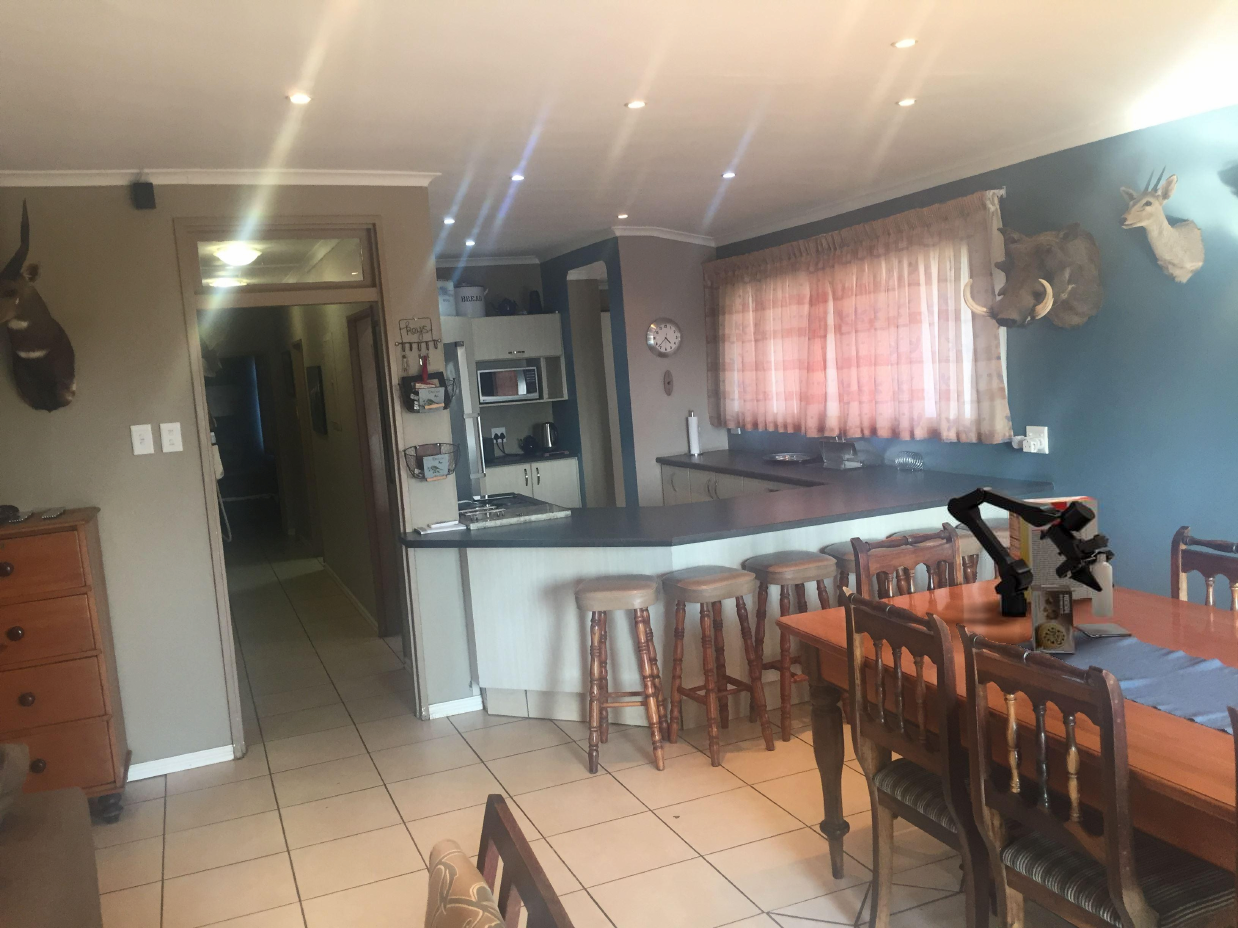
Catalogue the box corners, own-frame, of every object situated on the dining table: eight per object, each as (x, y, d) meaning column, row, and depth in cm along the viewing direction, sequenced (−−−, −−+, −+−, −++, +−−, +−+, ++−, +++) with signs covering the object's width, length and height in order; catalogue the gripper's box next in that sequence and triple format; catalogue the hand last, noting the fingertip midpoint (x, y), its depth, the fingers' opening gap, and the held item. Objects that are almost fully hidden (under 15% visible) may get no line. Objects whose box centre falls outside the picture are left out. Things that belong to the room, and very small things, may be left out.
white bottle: (1088, 614, 238) (1087, 554, 237) (1099, 611, 240) (1098, 551, 239) (1105, 618, 234) (1104, 557, 232) (1116, 614, 236) (1115, 554, 235)
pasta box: (1086, 591, 278) (1084, 496, 276) (1099, 598, 270) (1097, 499, 268) (1011, 596, 279) (1008, 500, 277) (1021, 602, 271) (1019, 504, 269)
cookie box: (1071, 646, 226) (1069, 584, 225) (1075, 654, 220) (1073, 590, 219) (1031, 645, 229) (1029, 583, 228) (1034, 653, 223) (1032, 589, 222)
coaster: (1091, 637, 233) (1091, 634, 233) (1075, 626, 243) (1075, 624, 243) (1131, 635, 232) (1131, 633, 232) (1113, 625, 242) (1113, 622, 242)
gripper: (1065, 529, 234) (1106, 577, 225) (1107, 519, 243) (1149, 565, 235) (1038, 554, 241) (1077, 602, 233) (1080, 544, 251) (1119, 590, 242)
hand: (1107, 589), depth 235 cm, fingers closed on white bottle, 5 cm apart
